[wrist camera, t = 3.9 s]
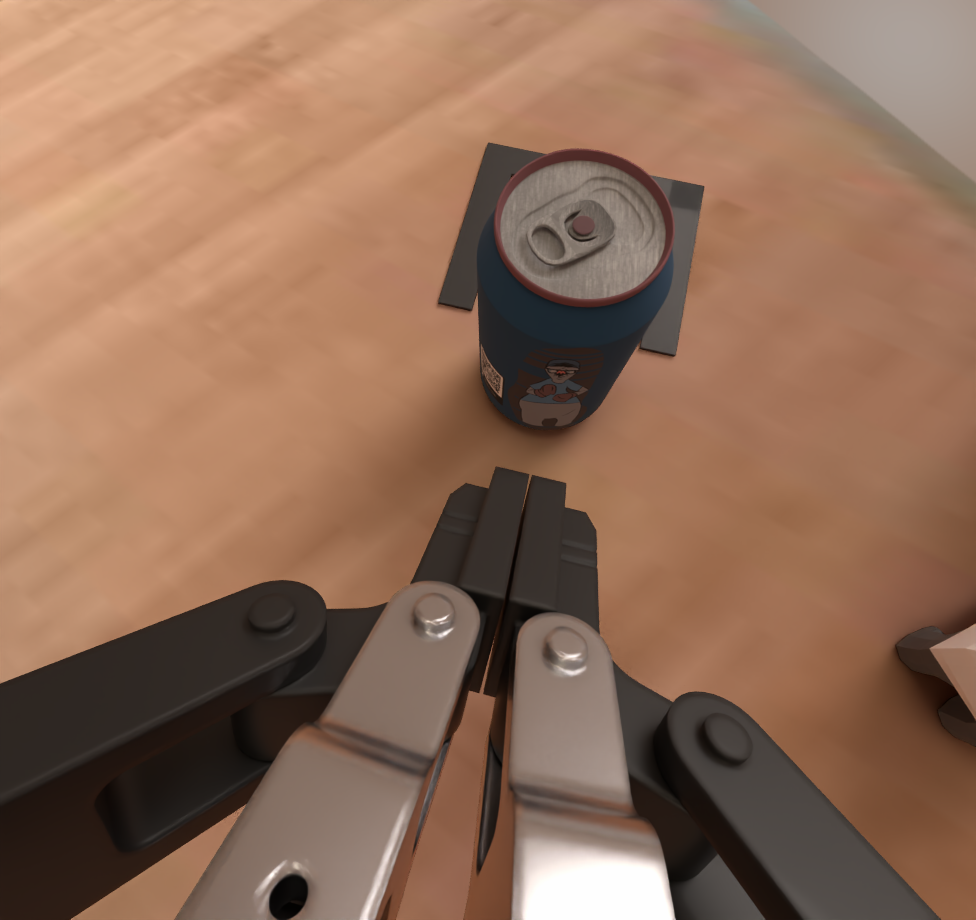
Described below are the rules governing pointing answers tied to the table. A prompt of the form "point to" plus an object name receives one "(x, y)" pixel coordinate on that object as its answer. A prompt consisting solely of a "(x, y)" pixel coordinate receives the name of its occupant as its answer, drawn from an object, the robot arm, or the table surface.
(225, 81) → the table surface
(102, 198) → the table surface
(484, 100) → the table surface
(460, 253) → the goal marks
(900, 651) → the giant panda
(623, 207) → the soda can
